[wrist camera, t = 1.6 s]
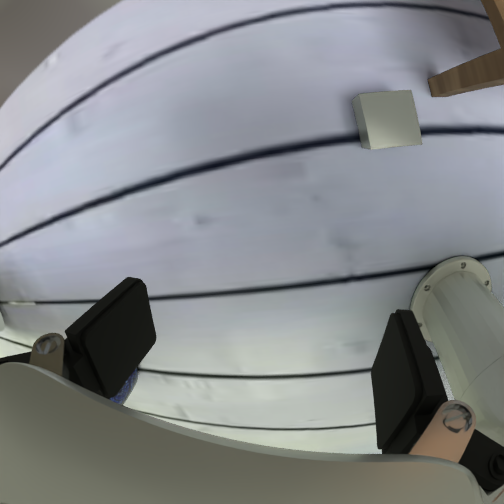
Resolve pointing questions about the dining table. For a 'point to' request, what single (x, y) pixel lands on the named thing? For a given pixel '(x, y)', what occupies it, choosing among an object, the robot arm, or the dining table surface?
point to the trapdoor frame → (476, 63)
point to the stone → (387, 119)
